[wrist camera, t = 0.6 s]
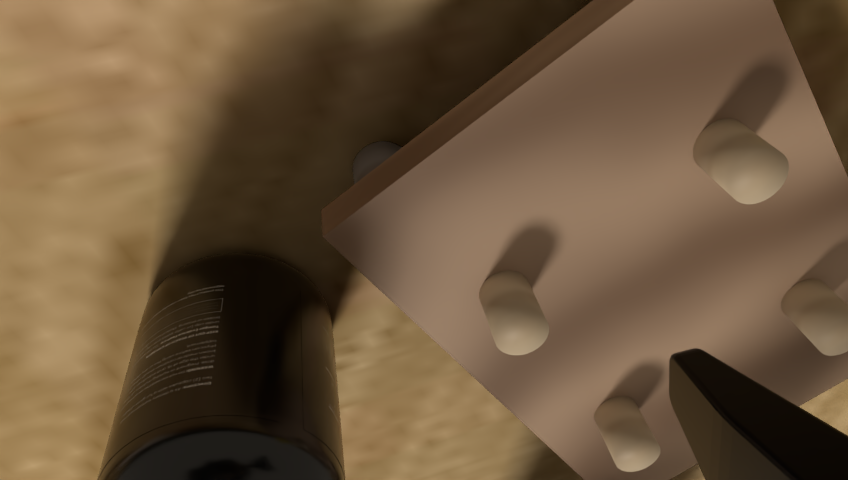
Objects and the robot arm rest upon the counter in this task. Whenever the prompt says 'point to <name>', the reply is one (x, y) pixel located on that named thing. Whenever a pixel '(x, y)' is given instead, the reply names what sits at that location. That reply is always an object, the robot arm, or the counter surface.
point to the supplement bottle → (230, 379)
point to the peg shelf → (619, 226)
